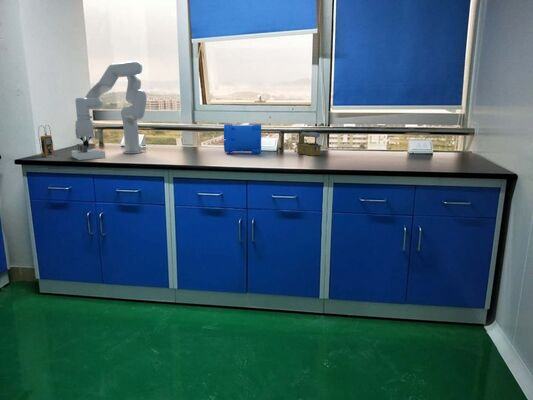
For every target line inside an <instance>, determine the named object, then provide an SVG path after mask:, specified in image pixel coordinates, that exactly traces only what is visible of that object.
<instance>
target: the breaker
mask: <svg viewBox="0 0 533 400" xmlns="http://www.w3.org/2000/svg"><path fill="white" fill-rule="evenodd" d="M87 149H88V148H87V146H82V152H88V151H87Z"/></svg>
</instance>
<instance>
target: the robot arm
mask: <svg viewBox="0 0 533 400" xmlns="http://www.w3.org/2000/svg"><path fill="white" fill-rule="evenodd" d="M143 68H144V67H143V65H142V63H141V62H139V61H136V60H134V61H133V60H132V61H125V62H118V63H111V64H110V65H109V66H108V67H107V68H106V69H105V72H104V73H103V74H102V76H101V78H100V79H99V81H98V82H97V83H96V84H95V85H93V86H92V87H91V89H89V91H88V92H87V94H86V95H85V97H77V98H75V109H76V120H75V129H74V130H75V131H74V132H75V136H76V139H77V140H81V141H82V143H83V145H84V146H87V149H89V146H90V143H89V142H90V140H92V139H94V138H95V130H94V125H93V122H92V119H93V115H91V113H90V110H95V111H96V110H100V109H102V107H103V105H104V104H103V100H102V99H100V98H101V96H103V95H104V94H106V93H108V92H110V90H112V88H113V87H114V86H115V84H116V83H117V81H118V79H119V78H124V77H126V78H127V86H126V87H127V88H126V92H125V101H126V102H127V103H128V104H131V105H125V106H123V107H122V108H121V111H120V115H121V120H122V126H123V138H124V139H123V140H124V141H123V142H124V150H123V151H122V153H123V154H139V153H140V154H141V153H142V152H143V150H146V149H147V146H146V145H144V146H142V145H140V139H139V138H140V137H139V125H138V121H141V120H142V119H143V118H144V116H145V112H146V106H147V100H148V99H147V94H146V91H144V90H142V88H141V86H142V80H141V77H140V74H141V73H142V72H143V71H144V70H143Z"/></svg>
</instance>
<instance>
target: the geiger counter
mask: <svg viewBox="0 0 533 400" xmlns="http://www.w3.org/2000/svg"><path fill="white" fill-rule="evenodd" d="M300 134H301V139H300V140H301V142H297V143H295V145H296V147H294V153H296V154H300V155H301V154H302V155H306V156H321V148H322V147H323V145H322V144H319V143H317V142H308V140H307V139H305V137H306V138H317V139H318V138H320V135H321V134H320V133H319V132H315V131H309V132H305V131H302V132H299V133H298V134H297V136H296V141H298V138H299V135H300Z"/></svg>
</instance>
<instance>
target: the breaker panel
mask: <svg viewBox="0 0 533 400" xmlns="http://www.w3.org/2000/svg"><path fill="white" fill-rule="evenodd" d="M87 151H88V152H82V151H79V150H77V149H73V150H71V156H72V157H71V158H74V159H76V160H78V161H82V160H93V159H105V158H106V152H105V150H102V149H99V148H91V149H89V148H87Z"/></svg>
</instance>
